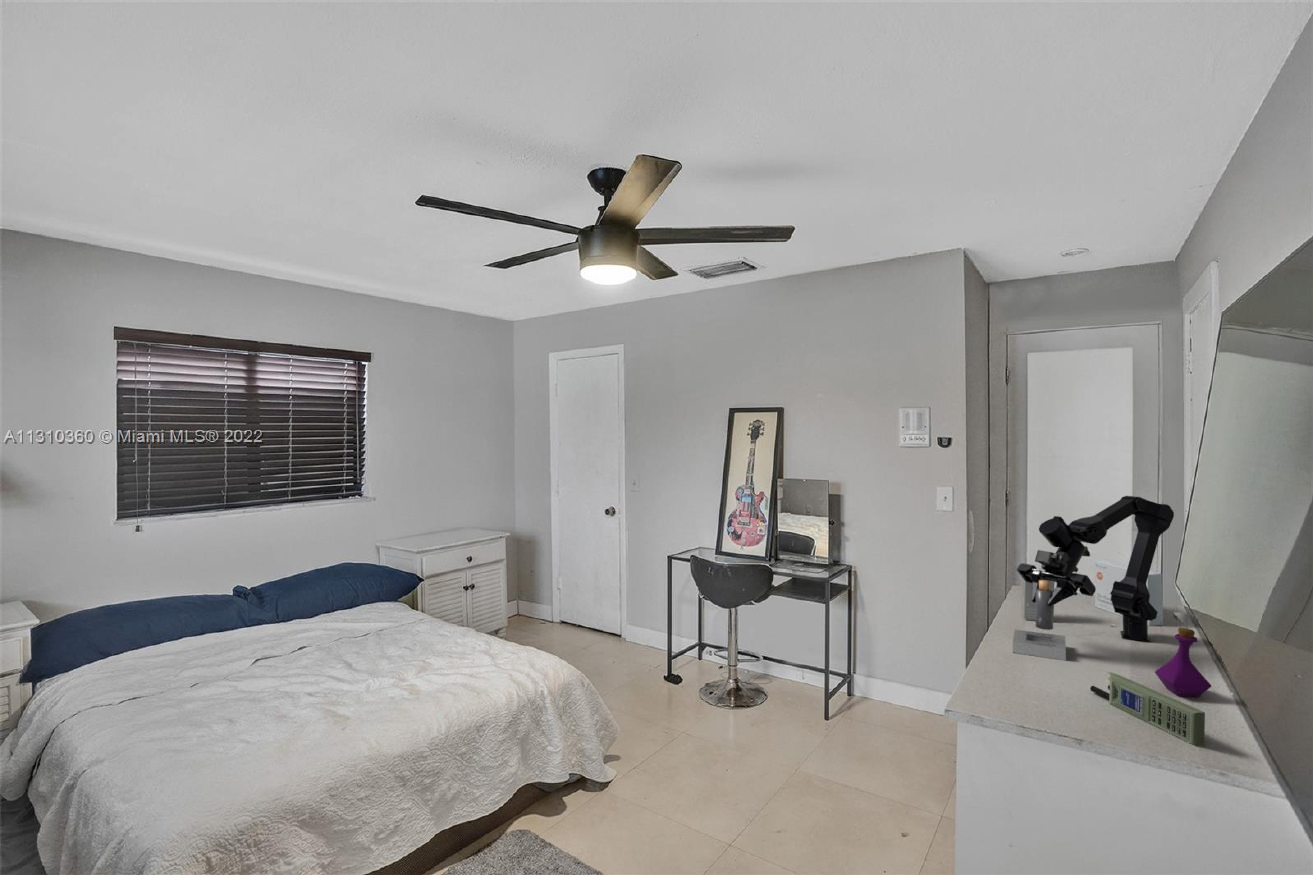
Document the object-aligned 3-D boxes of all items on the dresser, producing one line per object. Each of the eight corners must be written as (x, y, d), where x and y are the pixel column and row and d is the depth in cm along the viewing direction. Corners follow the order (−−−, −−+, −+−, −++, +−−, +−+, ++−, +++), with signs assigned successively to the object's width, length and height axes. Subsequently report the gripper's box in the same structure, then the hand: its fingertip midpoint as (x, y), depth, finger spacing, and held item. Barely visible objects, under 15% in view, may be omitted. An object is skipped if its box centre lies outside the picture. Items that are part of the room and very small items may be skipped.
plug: (1035, 624, 175) (1035, 578, 175) (1052, 626, 173) (1052, 580, 173) (1035, 628, 171) (1035, 581, 171) (1053, 630, 169) (1053, 583, 169)
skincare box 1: (1024, 620, 200) (1023, 569, 200) (1020, 614, 207) (1020, 565, 207) (1055, 623, 197) (1055, 571, 197) (1051, 616, 204) (1050, 567, 204)
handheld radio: (1192, 747, 120) (1085, 694, 145) (1207, 747, 121) (1098, 693, 145) (1193, 712, 120) (1086, 664, 145) (1208, 711, 121) (1099, 664, 145)
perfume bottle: (1212, 701, 140) (1211, 618, 140) (1173, 698, 141) (1172, 617, 141) (1191, 687, 147) (1190, 609, 147) (1154, 685, 149) (1153, 608, 149)
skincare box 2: (1093, 607, 214) (1092, 559, 214) (1108, 606, 214) (1107, 559, 214) (1148, 626, 193) (1147, 573, 193) (1164, 625, 194) (1164, 573, 193)
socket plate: (1015, 640, 182) (1015, 629, 182) (1065, 647, 175) (1065, 636, 175) (1012, 652, 172) (1012, 641, 172) (1065, 660, 165) (1065, 648, 165)
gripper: (1020, 534, 182) (994, 577, 177) (1088, 544, 165) (1061, 592, 161) (1038, 559, 185) (1013, 602, 181) (1107, 572, 169) (1081, 619, 164)
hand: (1040, 603), depth 171 cm, fingers closed on plug, 4 cm apart
